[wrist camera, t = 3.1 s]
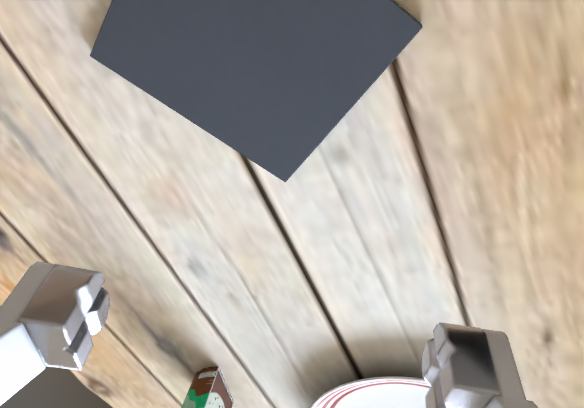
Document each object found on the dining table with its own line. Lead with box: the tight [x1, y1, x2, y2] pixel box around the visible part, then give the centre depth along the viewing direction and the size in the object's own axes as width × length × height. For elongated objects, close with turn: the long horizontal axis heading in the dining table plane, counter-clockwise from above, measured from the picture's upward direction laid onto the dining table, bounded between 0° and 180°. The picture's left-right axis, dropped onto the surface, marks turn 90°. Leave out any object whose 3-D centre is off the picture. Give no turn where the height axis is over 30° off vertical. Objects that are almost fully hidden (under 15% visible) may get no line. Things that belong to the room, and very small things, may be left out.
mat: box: [90, 0, 422, 182], centre depth 36 cm, size 20×18×1 cm
